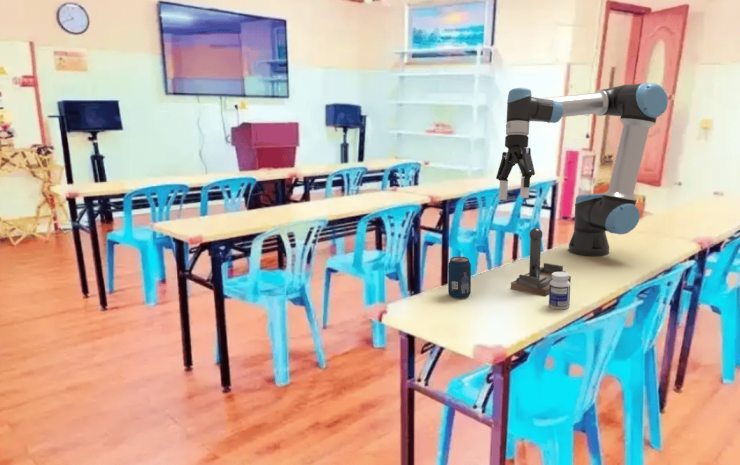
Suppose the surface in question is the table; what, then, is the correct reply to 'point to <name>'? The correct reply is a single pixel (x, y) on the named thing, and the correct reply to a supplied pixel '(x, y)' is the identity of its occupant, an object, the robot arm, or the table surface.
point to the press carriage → (535, 254)
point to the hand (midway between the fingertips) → (513, 198)
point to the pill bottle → (559, 291)
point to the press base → (537, 280)
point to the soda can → (459, 277)
